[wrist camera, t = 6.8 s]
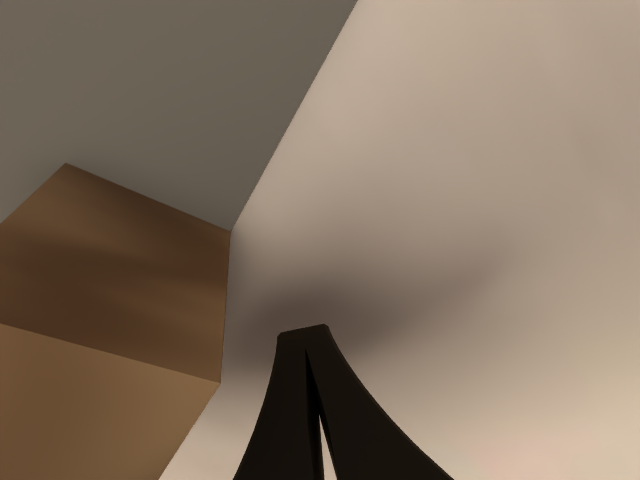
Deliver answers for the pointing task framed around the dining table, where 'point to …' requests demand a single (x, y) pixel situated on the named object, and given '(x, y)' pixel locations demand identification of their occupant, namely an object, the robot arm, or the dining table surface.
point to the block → (105, 330)
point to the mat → (156, 93)
